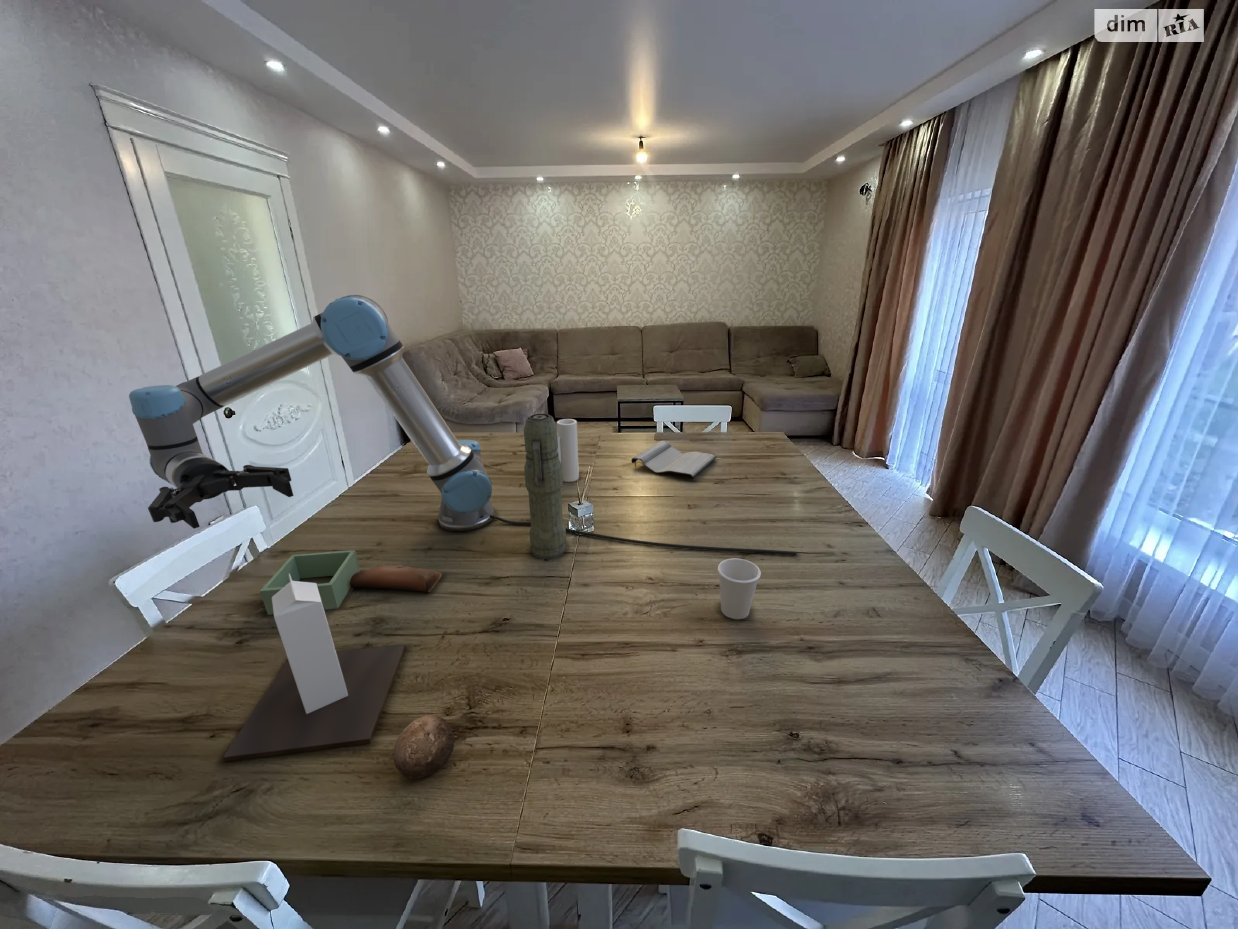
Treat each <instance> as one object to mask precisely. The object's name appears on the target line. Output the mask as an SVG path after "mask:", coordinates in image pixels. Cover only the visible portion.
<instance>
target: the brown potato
mask: <svg viewBox="0 0 1238 929" xmlns="http://www.w3.org/2000/svg"><path fill="white" fill-rule="evenodd" d="M454 745H455V735H454V731H453V728H452V726H451V725H450V723H449V722H448V721H447V720H446V719H445V718H443V717H442V716H440V715H438V714H425V715H423V716H422V715H421V716H420V717H418V718H415V719H413V720H412V721H411V722H410V723H408V725H407V726H406V727H404V728H403V729H402V731H401V732H400V734H399V735H398V737H397V739H396V740H395V743H394V748H393V751H392V758H393V762H394V766H395V768H396V769H397V770H398V771H399V772H400V773H401V775H402V776H405V777H407V778H410V779H414V780H415V779H420V778H426V777H428V776H430V775H432V774H434V773H435V772H437V771H438V770H440V769H441V768H442V767H444V765H446V764H447V762H448V760H450V757H451V755H452V754H453V751H454Z"/></svg>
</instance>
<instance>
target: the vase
mask: <svg viewBox="0 0 1238 929" xmlns="http://www.w3.org/2000/svg"><path fill="white" fill-rule="evenodd" d="M556 427H557V437H558V449H557V452H558V454H559V459H560V462H561V464H562V480H563V482H566V483H572V482H576V481H578V480H579V479H580V471H579V470H580V469H579V466H580V465H579V445H578V421H577V420H576V419H574V418H562V419H558V420H557V421H556Z"/></svg>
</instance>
